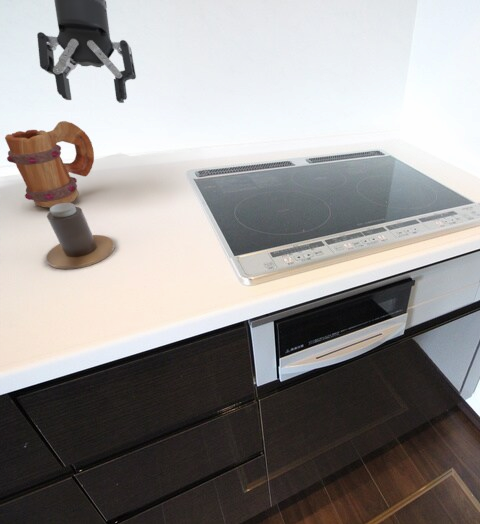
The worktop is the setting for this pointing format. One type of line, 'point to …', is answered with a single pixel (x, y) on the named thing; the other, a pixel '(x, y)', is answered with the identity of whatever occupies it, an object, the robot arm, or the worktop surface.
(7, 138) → the mug
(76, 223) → the pepper mill
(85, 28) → the robot arm
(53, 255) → the coaster
